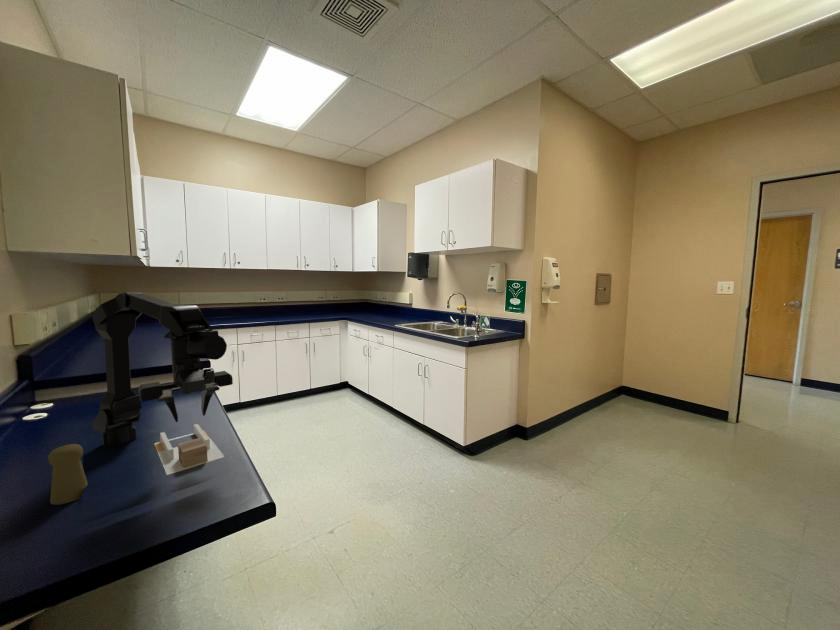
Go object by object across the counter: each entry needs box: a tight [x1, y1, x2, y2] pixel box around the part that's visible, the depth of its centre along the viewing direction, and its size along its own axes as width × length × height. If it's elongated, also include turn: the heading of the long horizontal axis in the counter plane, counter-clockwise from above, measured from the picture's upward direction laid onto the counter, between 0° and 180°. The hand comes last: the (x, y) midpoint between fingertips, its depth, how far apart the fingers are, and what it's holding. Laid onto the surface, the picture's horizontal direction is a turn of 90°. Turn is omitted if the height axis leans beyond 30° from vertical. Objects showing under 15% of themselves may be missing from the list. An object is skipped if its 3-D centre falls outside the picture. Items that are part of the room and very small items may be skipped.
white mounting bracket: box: [153, 423, 225, 476], centre depth 92 cm, size 22×12×4 cm, turn 44°
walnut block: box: [177, 437, 208, 468], centre depth 86 cm, size 6×5×4 cm
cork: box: [47, 443, 89, 506], centre depth 74 cm, size 6×6×11 cm
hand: (190, 418), depth 86 cm, fingers open, 5 cm apart
